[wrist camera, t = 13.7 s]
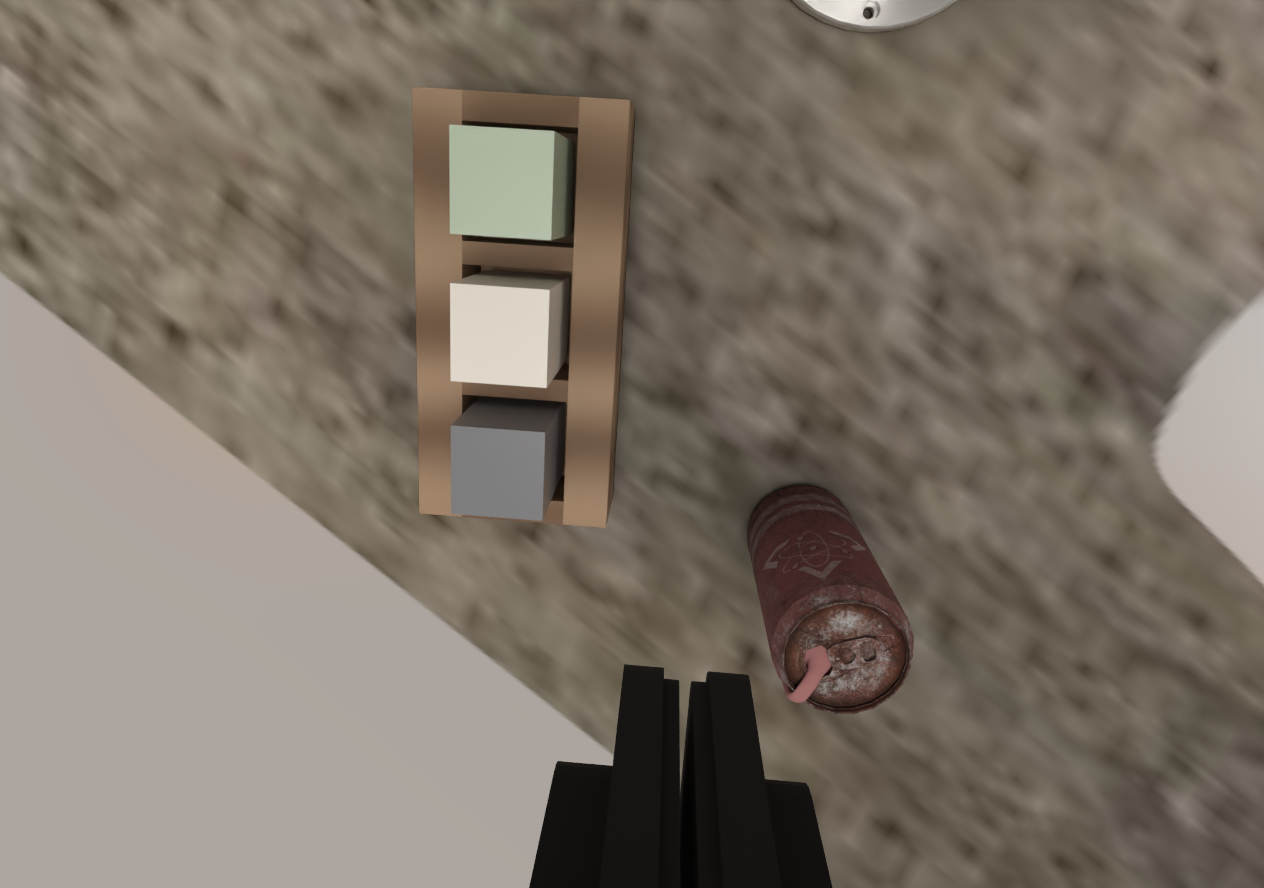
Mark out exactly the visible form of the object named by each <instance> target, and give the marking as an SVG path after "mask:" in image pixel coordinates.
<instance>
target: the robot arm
mask: <svg viewBox="0 0 1264 888" xmlns="http://www.w3.org/2000/svg"><path fill="white" fill-rule="evenodd" d="M792 1H793V2H794V3H795V4H796V5H797V6H798V7H799V8H801V9H802V10H803V11H805V12H807V13H808V14H810V15H812V16H813V17H815V18H817V19H818V20H820V21H822V22H824V23H827V24H830V25H833V26H836V27H838V28H841V29H844V30H850V31H859V32H868V33H873V32H883V31H893V30H898V29H901V28H905V27H908V26H911V25H914V24H918V23H921V22H922V21H924V20H926V19H928V18H930V17H932V16H934V15H936V14H938V13H940V12H941V11H943V10H945V9H946V8H947V7H949V6H950V5H951V4H953V3H954V2H956V1H957V0H792ZM864 9H870V10H871V12H872V16H871V18H870V19H866V18H864V16H863V10H864ZM529 888H832V884H831V880H830V876H829V871H828V867H827V862H826V858H825V854H824V849H823V845H822V840H821V836H820V832H819V827H818V823H817V818H816V814H815V810H814V805H813V801H812V797H811V793H810V790H809V787H808V786H807V784H806V783H801V782H789V781H778V780H767V779H765V777H764V770H763V764H762V757H761V751H760V744H759V737H758V731H757V724H756V718H755V711H754V705H753V698H752V692H751V685H750V679H749V676H748V675H744V674H732V673H720V672H708V673H707V677H706V682H696V681H692V682H691V687H690V697H689V707H688V717H687V728H686V738H685V749H684V759H683V770H682V780H681V791H680V748H679V680H672V679H664V668H660V667H648V666H637V665H625V664H624V671H623V680H622V689H621V698H620V707H619V715H618V724H617V733H616V742H615V751H614V760H613V766H607V765H596V764H583V763H572V762H562V761H558V762H557V764H556V767H555V771H554V775H553V779H552V784H551V789H550V793H549V798H548V803H547V807H546V812H545V817H544V822H543V826H542V831H541V835H540V840H539V845H538V850H537V854H536V859H535V864H534V868H533V873H532V877H531V882H530V887H529Z"/></svg>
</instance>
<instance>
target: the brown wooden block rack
mask: <svg viewBox="0 0 1264 888" xmlns="http://www.w3.org/2000/svg"><path fill="white" fill-rule="evenodd" d="M412 106H413V163H414V220H415V278H416V335H417V393H418V450H419V508H420V513H422V514H435V515H448V516H461V517H474V518H486V519H499V520H512V521H525V522H538V523H551V524H563V525H576V526H589V527H602V528H606V525H607V521H608V516H609V511H610V507H611V502H612V498H613V488H614V471H615V454H616V437H617V419H618V402H619V385H620V368H621V351H622V333H623V316H624V299H625V282H626V265H627V248H628V230H629V213H630V196H631V179H632V162H633V144H634V127H635V110H634V108H633V105H632V103H631V101H630V100H623V99H607V98H590V97H573V96H557V95H540V94H524V93H507V92H490V91H474V90H457V89H441V88H424V87H412ZM449 125H465V126H481V127H498V128H514V129H530V130H546V131H555V132H557V133H559V134H560V135H562V136H564V137H566V138H567V139H569V140H571V141H572V142H574V143H575V157H574V183H573V210H572V234H571V235H568V236H564V237H561V238H558V239H554V240H536V239H521V238H506V237H491V236H476V235H461V234H450V174H449ZM486 270H490V271H505V272H520V273H535V274H549V275H564V276H570V288H569V314H568V341H567V360H566V361H565V362H564V364H563V365H562V367H561V368H560V370H559V371H558V372H557V374H556V375H555V377H554V378H553V380H552V381H551V382H550V384H549V385H548V387H547V388H539V387H525V386H511V385H497V384H484V383H470V382H456V381H451V378H450V283H452V282H455V281H457V280H460V279H463V278H466V277H469V276H471V275H474V274H477V273H480V272H483V271H486ZM480 396H491V397H505V398H518V399H532V400H546V401H559V402H565V419H564V445H563V471H562V476H561V478H560V480H559V483H558V485H557V487H556V490H555V492H554V495H553V497H552V499H551V502H550V504H549V507H548V509H547V511H546V514H545V516H544V518H543V521H536V520H524V519H511V518H498V517H485V516H472V515H459V514H451V425H452V424H453V423H454V422H455V421H456V420H457V419H458V418H459V417H460V416H461V415H462V414H463V413H464V412H465V411H466V410H467V409H468V408H469V407H470V406H471V405H472V404H473V403H474V402H475V401H476V400H477V399H478V398H479V397H480Z"/></svg>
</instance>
